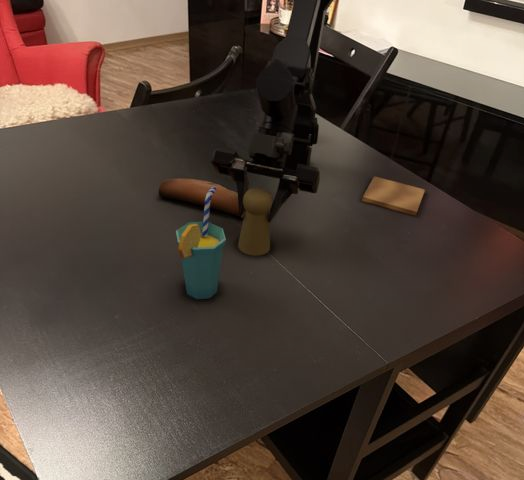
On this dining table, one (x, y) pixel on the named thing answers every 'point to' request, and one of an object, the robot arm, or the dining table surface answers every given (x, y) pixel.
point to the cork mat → (394, 195)
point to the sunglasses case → (200, 194)
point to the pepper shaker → (256, 222)
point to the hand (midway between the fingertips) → (254, 218)
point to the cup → (201, 254)
